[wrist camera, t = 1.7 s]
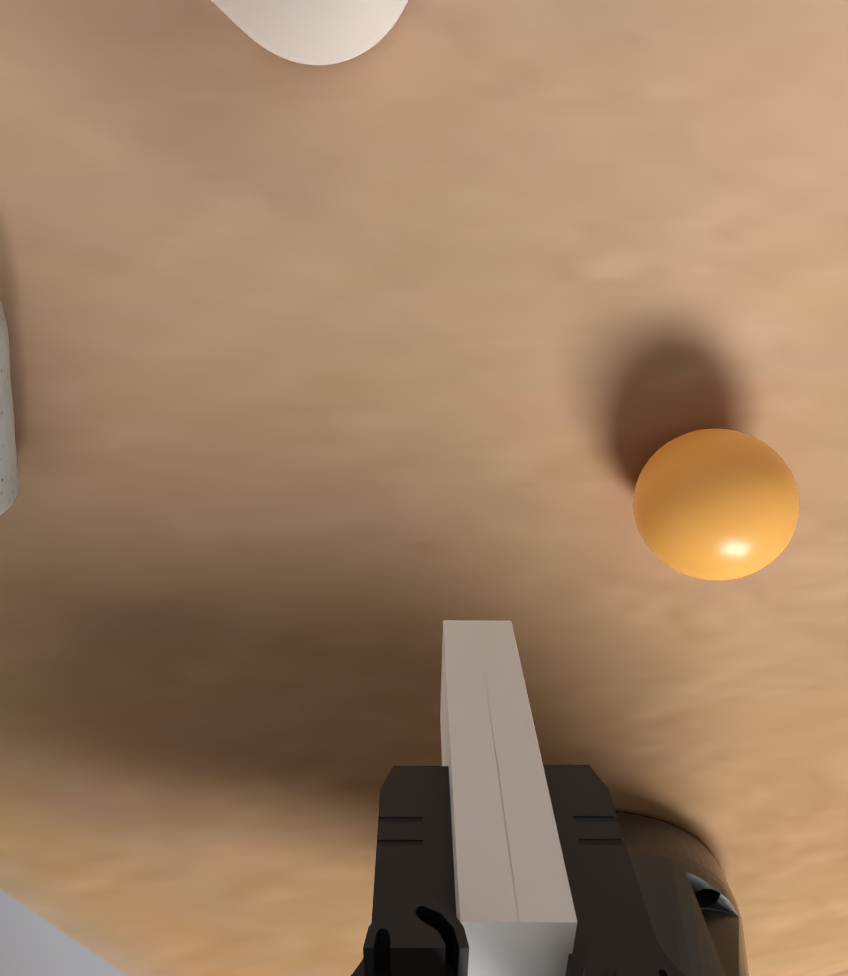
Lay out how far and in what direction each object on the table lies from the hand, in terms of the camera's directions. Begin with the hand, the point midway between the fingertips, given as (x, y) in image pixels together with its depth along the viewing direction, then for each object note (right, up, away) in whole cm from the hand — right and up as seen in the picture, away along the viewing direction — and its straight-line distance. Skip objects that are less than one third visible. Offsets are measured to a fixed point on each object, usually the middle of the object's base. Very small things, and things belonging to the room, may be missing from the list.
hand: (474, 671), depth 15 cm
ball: (+9, +4, +9) cm, 14 cm away
